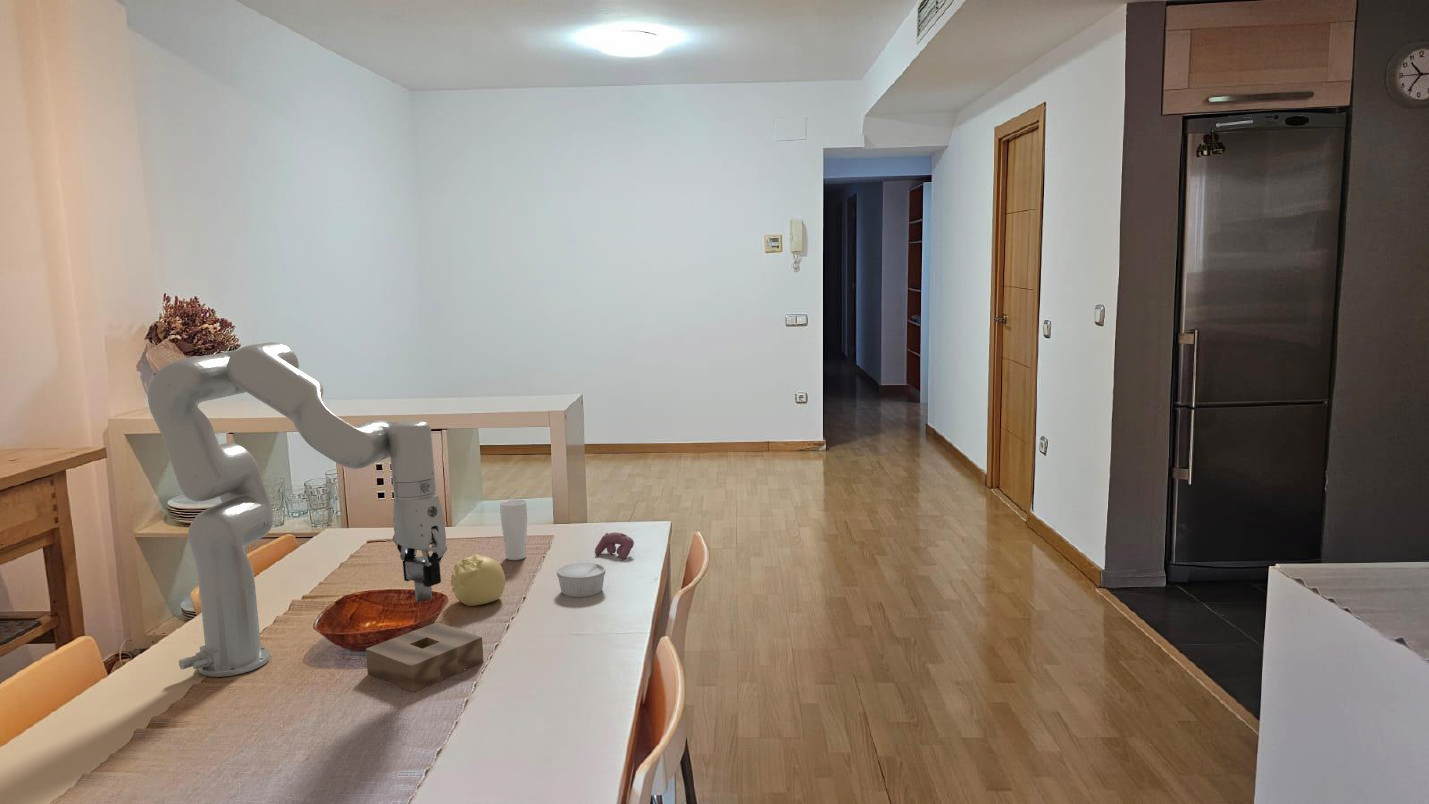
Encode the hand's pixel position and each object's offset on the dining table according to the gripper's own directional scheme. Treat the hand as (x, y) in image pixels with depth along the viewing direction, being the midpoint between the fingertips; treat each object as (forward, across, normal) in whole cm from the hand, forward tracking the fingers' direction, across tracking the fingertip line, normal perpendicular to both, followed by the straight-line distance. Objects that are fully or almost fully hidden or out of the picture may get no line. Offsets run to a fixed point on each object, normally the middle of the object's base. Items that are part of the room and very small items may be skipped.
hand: (422, 581), depth 178 cm
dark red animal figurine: (+18, +19, -73) cm, 77 cm away
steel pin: (+3, 0, 0) cm, 3 cm away
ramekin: (+18, +7, -48) cm, 51 cm away
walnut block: (+17, +1, 0) cm, 17 cm away
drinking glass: (+17, +40, -57) cm, 71 cm away
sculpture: (+17, +22, -30) cm, 41 cm away
